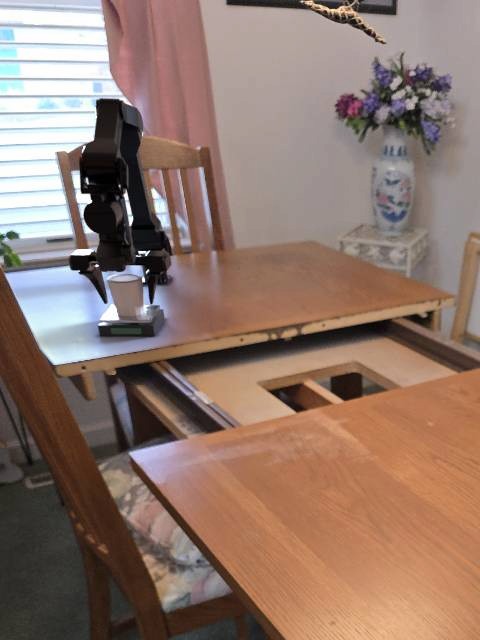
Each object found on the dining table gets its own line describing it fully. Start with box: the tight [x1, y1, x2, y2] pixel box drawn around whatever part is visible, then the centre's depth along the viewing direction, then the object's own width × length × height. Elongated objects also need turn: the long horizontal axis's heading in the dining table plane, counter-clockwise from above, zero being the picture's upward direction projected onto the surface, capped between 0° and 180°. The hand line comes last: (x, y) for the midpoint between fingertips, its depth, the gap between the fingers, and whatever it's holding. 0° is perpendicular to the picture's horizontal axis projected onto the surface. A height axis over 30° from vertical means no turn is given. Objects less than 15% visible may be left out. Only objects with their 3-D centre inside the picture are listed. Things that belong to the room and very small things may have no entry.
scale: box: [97, 308, 166, 337], centre depth 149 cm, size 11×11×3 cm
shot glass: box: [106, 273, 146, 316], centre depth 146 cm, size 7×7×7 cm
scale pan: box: [99, 304, 161, 323], centre depth 148 cm, size 10×10×1 cm
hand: (129, 303), depth 147 cm, fingers open, 9 cm apart
